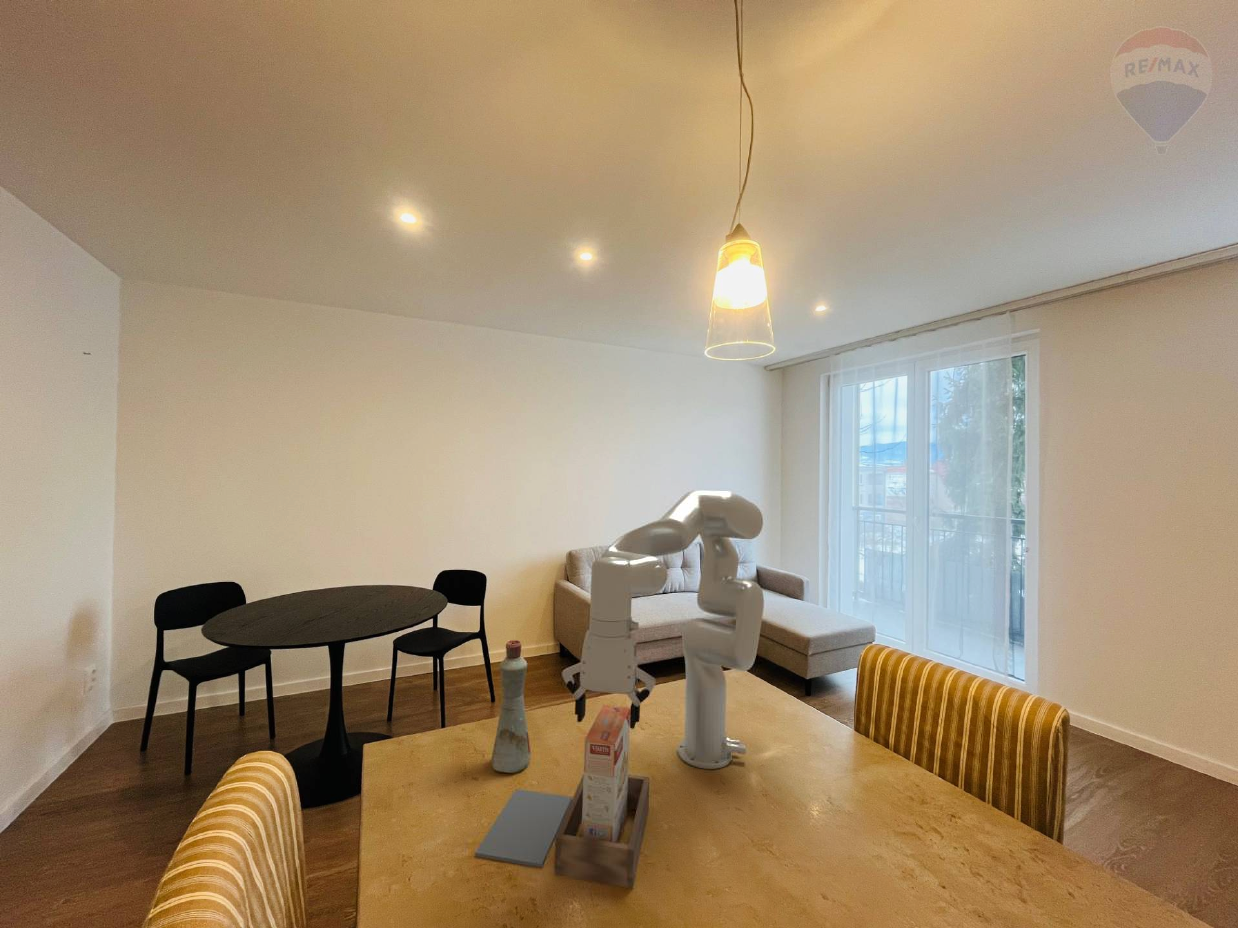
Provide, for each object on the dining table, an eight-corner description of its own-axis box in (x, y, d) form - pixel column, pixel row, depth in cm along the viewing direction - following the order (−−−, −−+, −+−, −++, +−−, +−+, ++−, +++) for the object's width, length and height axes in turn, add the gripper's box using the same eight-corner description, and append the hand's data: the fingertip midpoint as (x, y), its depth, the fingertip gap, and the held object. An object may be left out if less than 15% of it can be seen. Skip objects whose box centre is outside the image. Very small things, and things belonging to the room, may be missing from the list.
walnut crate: (648, 807, 99) (649, 776, 99) (632, 888, 80) (633, 850, 80) (585, 798, 102) (585, 768, 102) (554, 874, 82) (555, 837, 82)
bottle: (481, 770, 111) (485, 642, 111) (505, 750, 119) (509, 631, 120) (515, 780, 107) (518, 648, 108) (537, 758, 116) (540, 636, 117)
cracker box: (614, 870, 83) (616, 742, 84) (579, 864, 84) (582, 738, 85) (629, 815, 97) (631, 705, 97) (599, 810, 98) (601, 702, 99)
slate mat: (571, 799, 101) (572, 796, 101) (541, 867, 83) (541, 863, 84) (515, 791, 103) (515, 788, 103) (474, 856, 86) (475, 852, 86)
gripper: (659, 624, 94) (656, 718, 93) (570, 617, 97) (567, 707, 96) (654, 636, 86) (651, 738, 86) (558, 628, 90) (554, 725, 89)
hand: (606, 721), depth 91 cm, fingers open, 9 cm apart
